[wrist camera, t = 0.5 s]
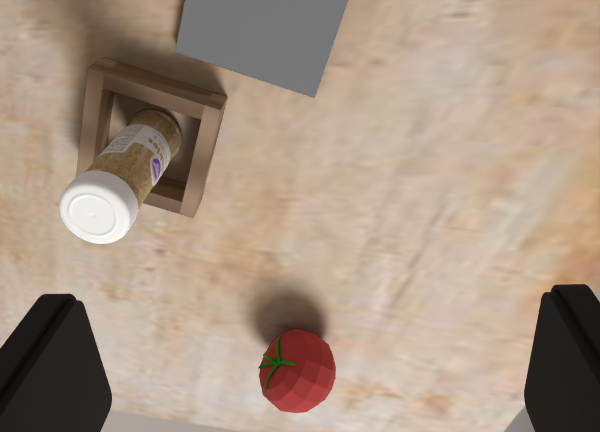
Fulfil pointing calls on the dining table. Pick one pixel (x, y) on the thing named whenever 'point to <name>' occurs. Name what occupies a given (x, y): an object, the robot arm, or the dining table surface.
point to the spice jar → (120, 178)
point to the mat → (263, 38)
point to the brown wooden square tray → (162, 93)
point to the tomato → (297, 371)
